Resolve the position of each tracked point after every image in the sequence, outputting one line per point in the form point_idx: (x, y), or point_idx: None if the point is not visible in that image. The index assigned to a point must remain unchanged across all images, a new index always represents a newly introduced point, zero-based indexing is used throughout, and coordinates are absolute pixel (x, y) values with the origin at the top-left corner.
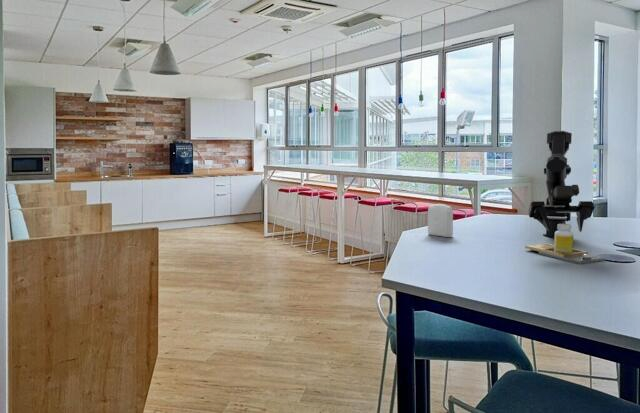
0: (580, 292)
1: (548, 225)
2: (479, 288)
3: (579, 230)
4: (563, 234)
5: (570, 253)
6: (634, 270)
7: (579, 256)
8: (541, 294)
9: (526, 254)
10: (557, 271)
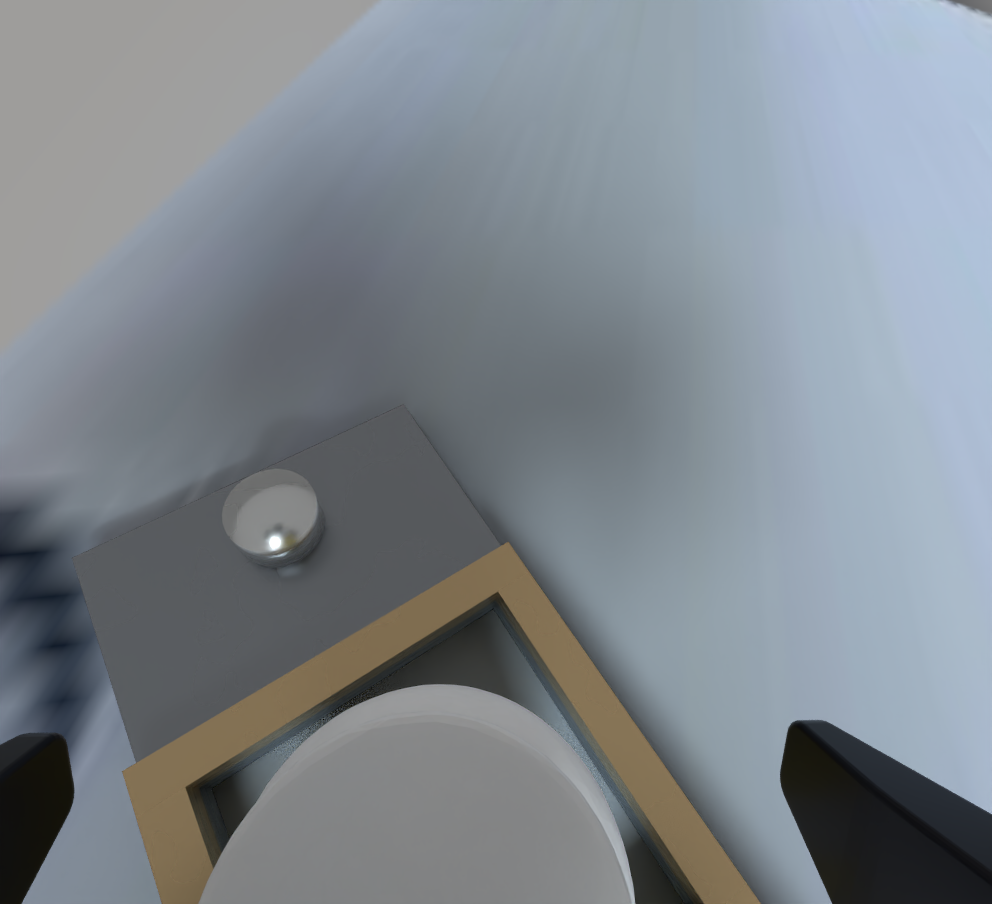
0: (568, 17)
1: (904, 782)
2: (923, 48)
3: (49, 835)
4: (487, 693)
5: (409, 624)
6: (85, 274)
7: (317, 615)
8: (705, 7)
9: None
10: (613, 238)
